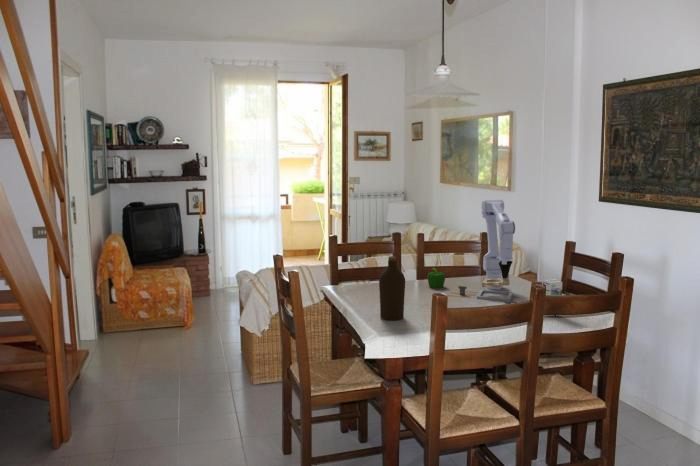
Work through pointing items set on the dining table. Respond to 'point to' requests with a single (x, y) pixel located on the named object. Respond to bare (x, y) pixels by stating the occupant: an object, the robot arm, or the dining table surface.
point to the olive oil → (392, 292)
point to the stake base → (467, 294)
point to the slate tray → (495, 297)
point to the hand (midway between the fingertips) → (505, 277)
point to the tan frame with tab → (495, 282)
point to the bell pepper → (436, 279)
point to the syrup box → (553, 287)
